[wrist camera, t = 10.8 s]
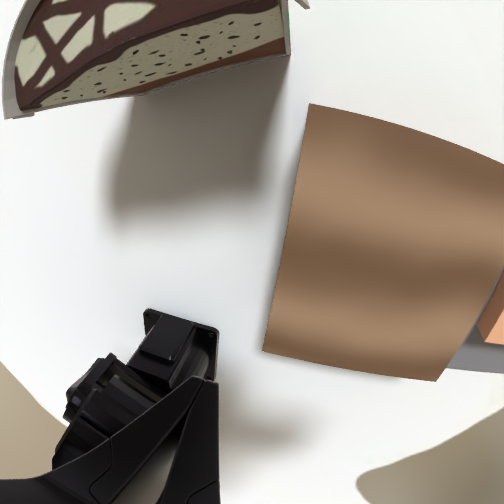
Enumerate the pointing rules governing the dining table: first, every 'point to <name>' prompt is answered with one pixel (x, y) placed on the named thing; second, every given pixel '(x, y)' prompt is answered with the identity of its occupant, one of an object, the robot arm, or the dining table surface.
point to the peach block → (494, 316)
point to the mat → (479, 349)
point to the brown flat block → (385, 247)
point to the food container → (131, 47)
